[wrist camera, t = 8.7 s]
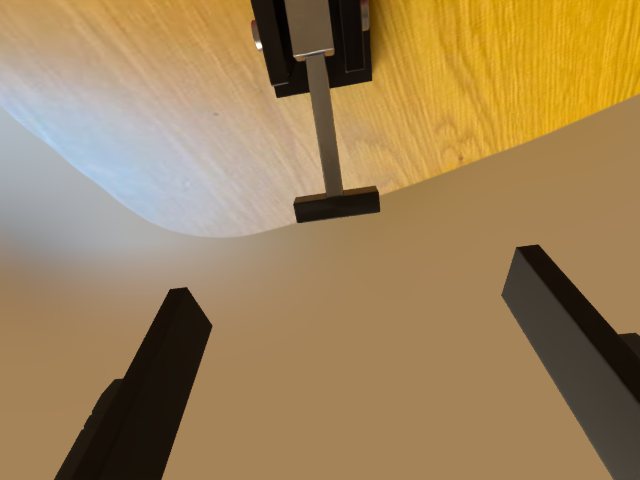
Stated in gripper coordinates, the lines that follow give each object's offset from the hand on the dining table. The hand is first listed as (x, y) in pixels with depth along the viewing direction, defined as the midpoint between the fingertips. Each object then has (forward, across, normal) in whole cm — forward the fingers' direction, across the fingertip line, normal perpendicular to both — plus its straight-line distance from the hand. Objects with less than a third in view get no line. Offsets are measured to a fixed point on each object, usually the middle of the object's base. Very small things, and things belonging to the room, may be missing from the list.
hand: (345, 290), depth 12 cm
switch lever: (+11, 0, +4) cm, 12 cm away
